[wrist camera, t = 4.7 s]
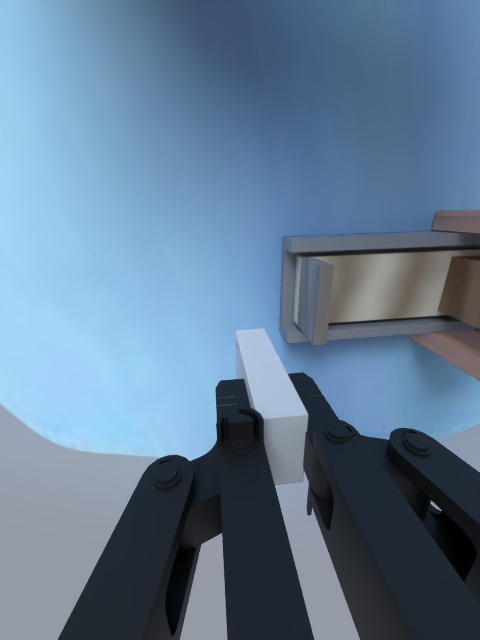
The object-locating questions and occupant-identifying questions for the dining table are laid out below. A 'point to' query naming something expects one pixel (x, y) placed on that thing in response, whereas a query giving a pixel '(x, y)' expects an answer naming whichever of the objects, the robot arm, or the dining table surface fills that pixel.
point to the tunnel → (466, 345)
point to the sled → (385, 287)
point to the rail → (359, 245)
